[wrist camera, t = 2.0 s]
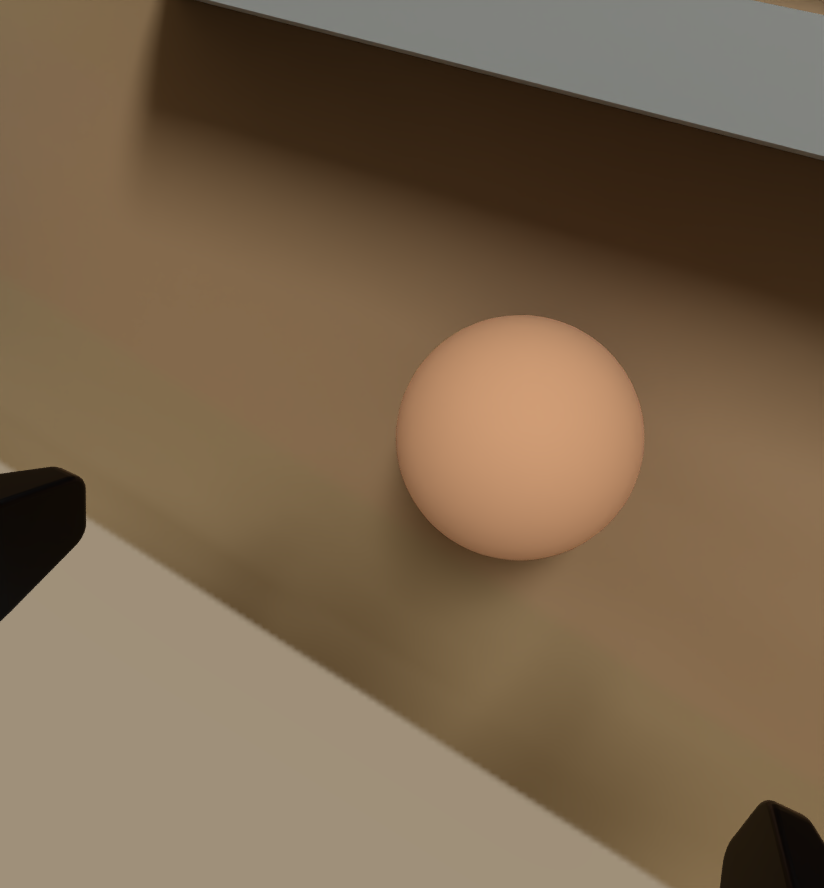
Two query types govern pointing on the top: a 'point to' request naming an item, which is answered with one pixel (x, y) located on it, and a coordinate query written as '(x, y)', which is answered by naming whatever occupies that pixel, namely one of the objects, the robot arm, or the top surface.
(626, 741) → the top surface
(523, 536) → the ball
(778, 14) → the gray wall
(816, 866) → the robot arm
